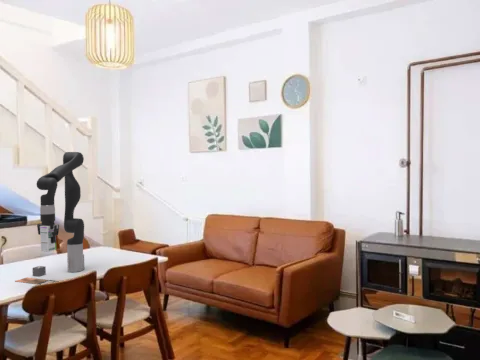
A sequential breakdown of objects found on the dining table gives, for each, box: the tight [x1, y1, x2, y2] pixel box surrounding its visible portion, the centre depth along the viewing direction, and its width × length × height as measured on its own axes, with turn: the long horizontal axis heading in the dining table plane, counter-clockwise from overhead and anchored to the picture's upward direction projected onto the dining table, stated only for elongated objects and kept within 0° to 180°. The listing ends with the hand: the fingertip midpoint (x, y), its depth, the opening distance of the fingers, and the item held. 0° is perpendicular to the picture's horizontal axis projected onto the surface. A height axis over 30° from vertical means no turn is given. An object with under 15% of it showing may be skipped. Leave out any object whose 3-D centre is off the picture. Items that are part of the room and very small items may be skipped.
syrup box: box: [39, 225, 57, 253], centre depth 222 cm, size 6×6×14 cm
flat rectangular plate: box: [14, 276, 55, 285], centre depth 225 cm, size 8×25×1 cm, turn 70°
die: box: [32, 265, 47, 278], centre depth 239 cm, size 5×5×5 cm
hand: (48, 242), depth 222 cm, fingers closed on syrup box, 6 cm apart
